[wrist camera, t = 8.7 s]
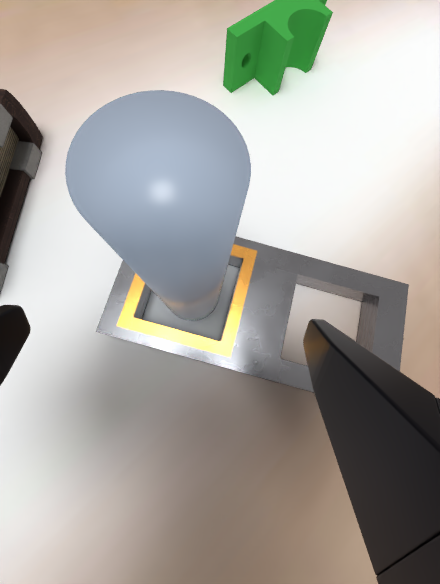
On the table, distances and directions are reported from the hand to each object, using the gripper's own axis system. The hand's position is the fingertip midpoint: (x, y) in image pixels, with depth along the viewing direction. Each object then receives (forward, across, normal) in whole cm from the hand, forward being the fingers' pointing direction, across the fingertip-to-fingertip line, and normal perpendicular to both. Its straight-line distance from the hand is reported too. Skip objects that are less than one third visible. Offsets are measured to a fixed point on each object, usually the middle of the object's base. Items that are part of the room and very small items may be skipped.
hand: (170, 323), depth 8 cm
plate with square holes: (+9, -5, +6) cm, 12 cm away
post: (+10, 0, +5) cm, 11 cm away
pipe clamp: (+26, -7, -11) cm, 29 cm away
